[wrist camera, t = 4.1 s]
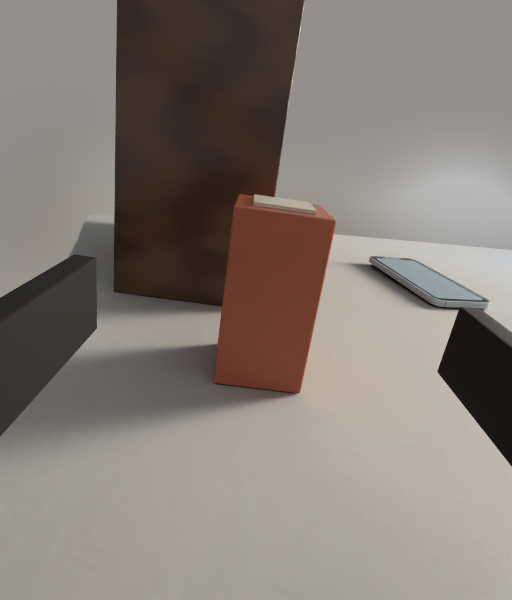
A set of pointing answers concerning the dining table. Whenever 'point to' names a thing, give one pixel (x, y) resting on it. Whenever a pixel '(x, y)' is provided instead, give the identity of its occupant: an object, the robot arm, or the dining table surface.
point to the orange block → (272, 291)
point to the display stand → (195, 134)
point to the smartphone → (429, 283)
